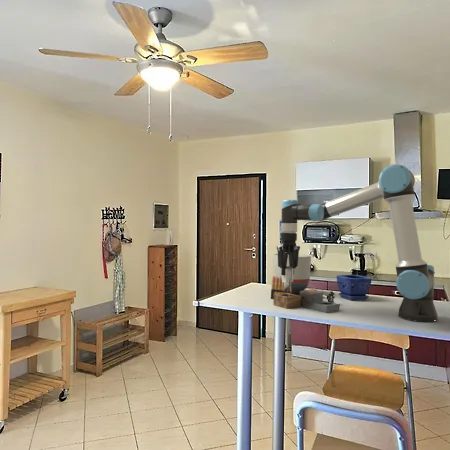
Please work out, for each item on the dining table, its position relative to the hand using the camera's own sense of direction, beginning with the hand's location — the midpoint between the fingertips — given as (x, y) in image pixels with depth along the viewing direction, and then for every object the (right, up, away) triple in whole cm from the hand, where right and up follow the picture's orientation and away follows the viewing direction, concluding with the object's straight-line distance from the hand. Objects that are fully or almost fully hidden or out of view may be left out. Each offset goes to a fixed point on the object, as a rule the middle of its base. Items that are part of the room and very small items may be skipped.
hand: (287, 281), depth 191 cm
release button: (+11, -8, 0) cm, 14 cm away
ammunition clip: (-1, -11, +15) cm, 19 cm away
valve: (+18, -12, +9) cm, 23 cm away
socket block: (+14, -12, -3) cm, 18 cm away
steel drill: (0, -5, 0) cm, 5 cm away
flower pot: (+38, -12, +23) cm, 47 cm away
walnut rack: (0, -11, 0) cm, 11 cm away
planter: (+7, -11, +34) cm, 37 cm away
